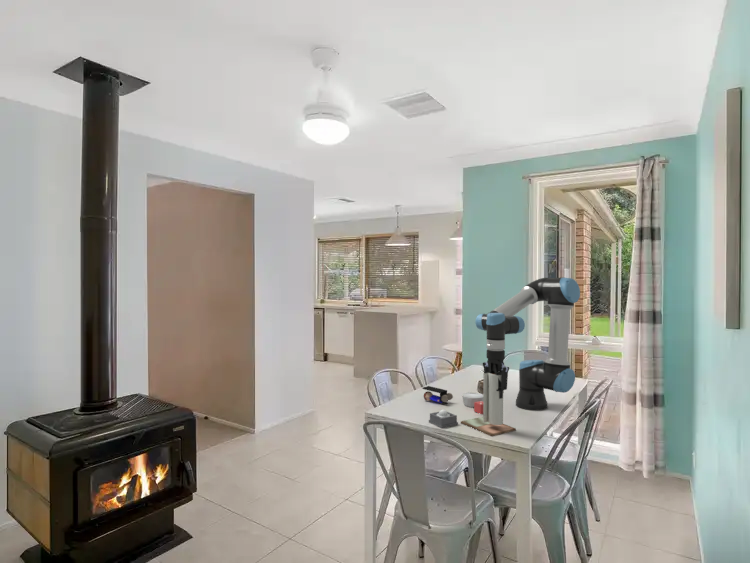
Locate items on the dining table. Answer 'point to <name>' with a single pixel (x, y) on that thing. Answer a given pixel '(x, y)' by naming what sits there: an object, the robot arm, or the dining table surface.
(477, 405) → the red die
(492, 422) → the paper towel roll
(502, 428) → the game board
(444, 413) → the pop dome
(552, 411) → the dining table surface
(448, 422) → the button base
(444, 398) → the figurine character
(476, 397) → the ramekin
